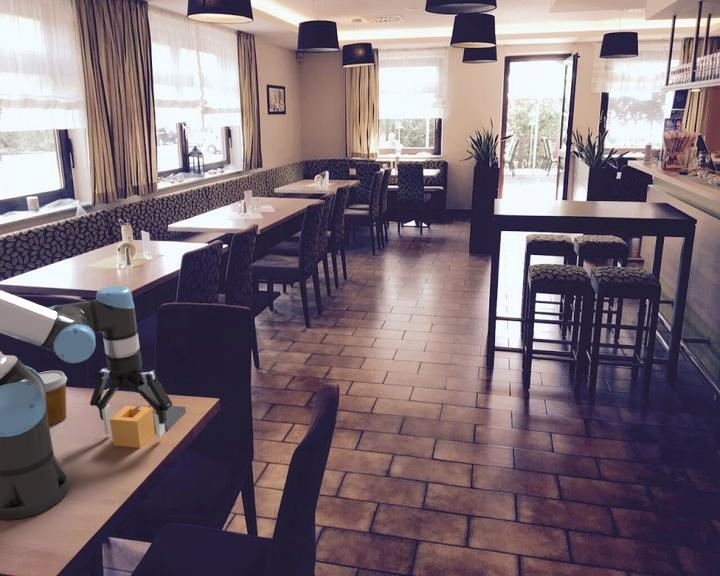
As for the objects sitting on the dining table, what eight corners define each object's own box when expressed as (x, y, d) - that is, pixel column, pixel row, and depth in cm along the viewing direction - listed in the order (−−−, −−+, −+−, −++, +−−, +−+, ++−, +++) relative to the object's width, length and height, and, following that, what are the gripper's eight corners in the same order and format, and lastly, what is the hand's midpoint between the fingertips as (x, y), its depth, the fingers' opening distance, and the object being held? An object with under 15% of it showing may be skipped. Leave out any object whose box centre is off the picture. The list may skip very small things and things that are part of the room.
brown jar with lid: (80, 412, 160) (74, 370, 157) (57, 430, 151) (50, 386, 148) (49, 409, 162) (41, 368, 158) (24, 427, 153) (15, 384, 149)
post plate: (167, 430, 150) (163, 396, 147) (131, 427, 152) (126, 393, 149) (185, 411, 159) (182, 379, 157) (151, 409, 161) (147, 376, 159)
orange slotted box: (140, 447, 142) (136, 420, 140) (113, 445, 144) (109, 418, 142) (155, 433, 149) (152, 407, 147) (129, 430, 150) (125, 405, 148)
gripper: (180, 348, 141) (190, 428, 147) (85, 343, 146) (98, 421, 152) (164, 360, 134) (175, 444, 140) (65, 355, 139) (79, 437, 145)
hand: (135, 432), depth 146 cm, fingers open, 13 cm apart
